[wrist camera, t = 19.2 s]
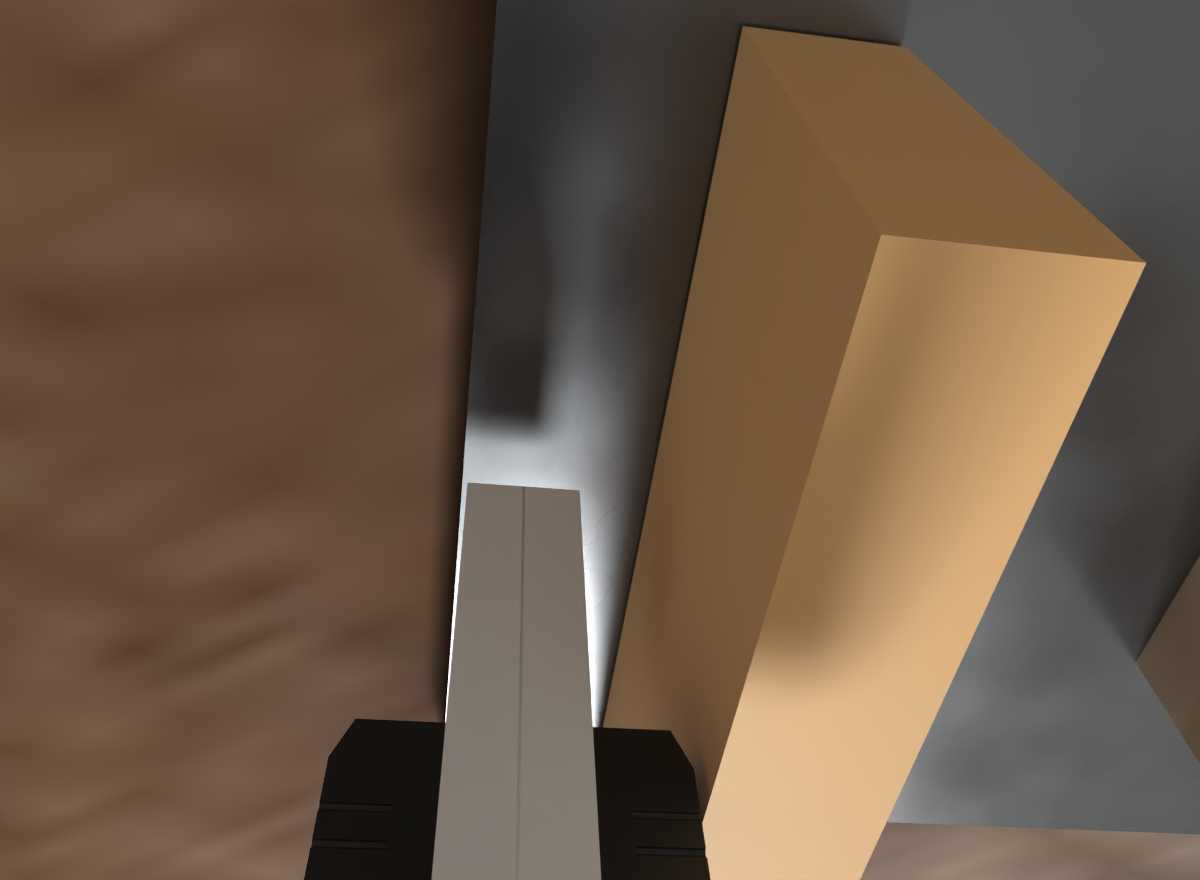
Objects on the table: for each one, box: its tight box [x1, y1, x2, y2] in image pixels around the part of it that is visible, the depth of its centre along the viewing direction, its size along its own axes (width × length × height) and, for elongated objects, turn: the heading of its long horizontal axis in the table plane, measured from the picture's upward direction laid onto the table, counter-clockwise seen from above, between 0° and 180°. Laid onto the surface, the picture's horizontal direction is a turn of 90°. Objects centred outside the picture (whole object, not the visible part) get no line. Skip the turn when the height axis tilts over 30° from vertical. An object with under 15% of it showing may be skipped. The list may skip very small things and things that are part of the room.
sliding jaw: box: [603, 26, 1146, 880], centre depth 14 cm, size 14×2×6 cm, turn 172°
